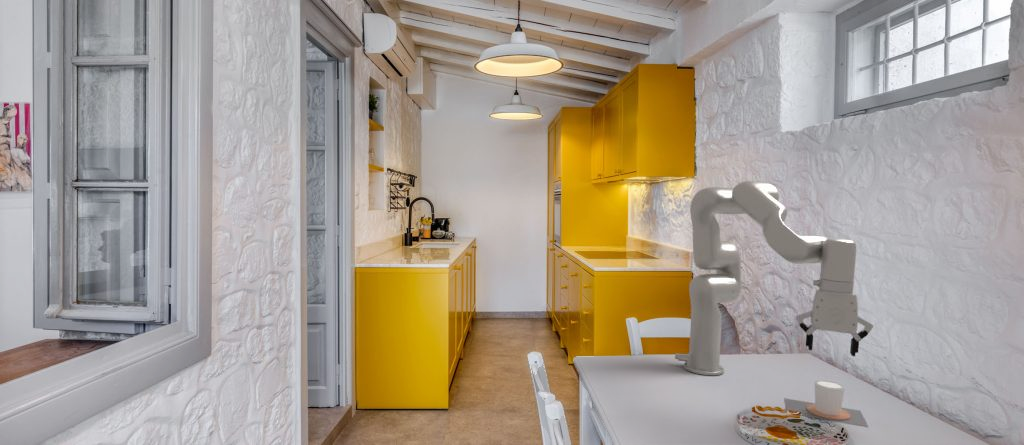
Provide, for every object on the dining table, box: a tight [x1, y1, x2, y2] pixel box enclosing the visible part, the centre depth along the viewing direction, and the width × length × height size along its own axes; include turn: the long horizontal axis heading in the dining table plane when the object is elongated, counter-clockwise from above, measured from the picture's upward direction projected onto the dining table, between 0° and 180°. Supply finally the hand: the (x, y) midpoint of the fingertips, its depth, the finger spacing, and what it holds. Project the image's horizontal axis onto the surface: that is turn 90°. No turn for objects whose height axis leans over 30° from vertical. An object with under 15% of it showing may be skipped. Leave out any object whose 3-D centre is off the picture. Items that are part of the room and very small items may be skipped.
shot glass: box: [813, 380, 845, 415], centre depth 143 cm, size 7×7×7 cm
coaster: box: [807, 404, 851, 420], centre depth 143 cm, size 10×10×1 cm
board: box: [784, 398, 869, 428], centre depth 144 cm, size 18×12×2 cm, turn 66°
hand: (831, 352), depth 143 cm, fingers open, 9 cm apart
